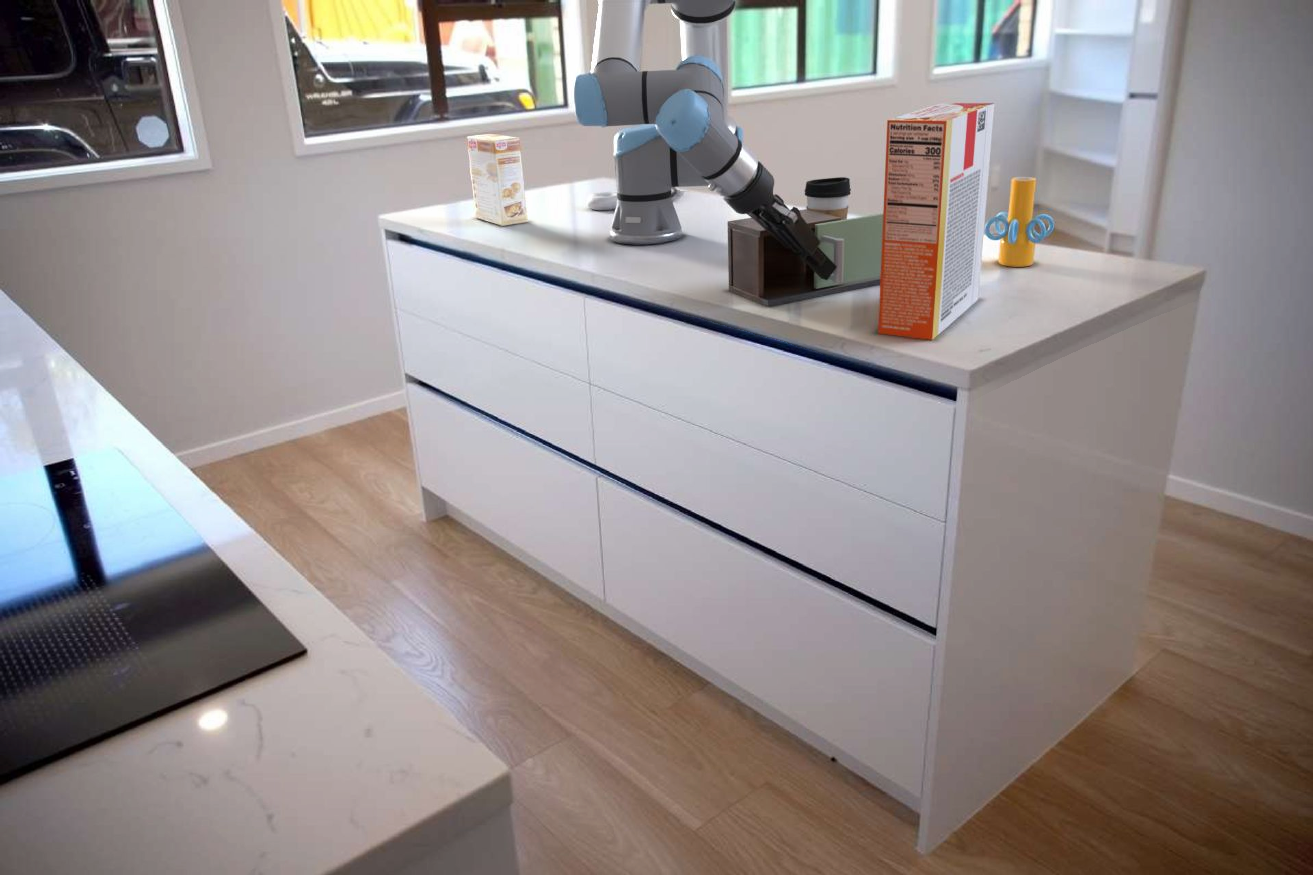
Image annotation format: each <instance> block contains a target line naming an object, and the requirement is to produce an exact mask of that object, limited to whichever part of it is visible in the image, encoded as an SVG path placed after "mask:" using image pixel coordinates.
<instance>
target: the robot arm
mask: <svg viewBox="0 0 1313 875" xmlns="http://www.w3.org/2000/svg"><path fill="white" fill-rule="evenodd" d="M596 1H597V4H598V10H597V12H598V13H597V20H596V27H595V28H596V29H595V36H594V43H593V53H592V61H591V70H590V72H587V73H582V74H578V75H576V76H575V78H574V79H573V87H572V94H573V95H572V96H573V98H572V100H573V107H574V114H575V118H576V121H577V123H578V124H579V125H580V126H583V127H601V128H607V127H621V126H623V127H624V126H630V127H627V128H624V129H621V130H619V131H618V132H617V133H616V134H615V135H614V138H613V157H614V169H615V189H616V192H617V206H616V209H614V214H613V219H612V222H611V227H610V229H609V230H610V240H611V241H612V242H614V243H617V244H622V245H634V246H635V245H638V246H641V245H642V246H644V245H645V246H646V245H658V244H663V243H664V244H665V243H669V242H673V241H676V240H679V239H680V238H681V237H682V234H683V233H682V225H681V222H680V219H679V216H678V214H677V210H676V208H675V205H674V203H673V199H672V198H674V197H675V196H676V195H677V193H678V190H677V188H682V187H684V188H685V187H687V188H688V187H707V189H708V190H709V191H710V192H716V193H717V194H718V196H721V197H722V199H723V201H724V202H725V203H726V204H727V205H728V206H729V207H730V208H731V209H732V210H733V211H734V212H735V213H736V214H739V215H747V216H749V218H753V219H754V220H755V221H756V222H757V223H758V224H759V225H761V226H762V227H763V228H764V229H765V230H766V231H767V232H768V233H770V234H771V235H772V236H773V237H774V238H775V239H776V240H777V241H779V242H780V243H781V244H782V245H783V246H784V247H785V248H789V247H790V248H791V249H792V251H793V252H796V253H797V252H799V254H798V255H799V257H800V258H801V259H803V260H804V261H805V262H806V263H807V264H808V265H809V266H810V267H811V268H812V269H813V270H814V271H815V272H816V273H817V274H818V276H819V277H820V278H821V279H824V280H828V278H829V277H830V276H831V274H832V273H833V272H834V270H835V269H836V267H837V266H836V265H835V264H834V263H833V262H832V261H831V260H830V259H829V258H828V257H827V256H826V255H825V254H824V253H823V252H822V250H821V249H820V248H819V247H818V246H819V244H820V243H821V242H820V240H819V239H818V238H817V236H816V235H815V234H814V232H813V231H812V230H811V228H810V227H809V226H808V224H807V223H806V222H805V220H804V219H803V218H802V216H801V213H800V211H799V210H800V209H799V208H798V207H796V206H792V208H791V209H790V208H789V207H788V206H787V205H786V204H785V201H784V200H783V199H782V197H780V195H778V194H776V193H774V189H775V188H774V187H775V178H774V176H773V174H772V173H771V172H770V170H768V169H767V168H766V167H765V165H764V164H762V162H760V161H759V160H758V157H756V155H755V154H754V153H753V152H752V151H751V150H750V149H749V148H748V146H746V144H744V131H743V128H742V127H741V126H738V125H737V123H736V120H735V119H734V117H733V116H732V115H731V114H729V58H728V57H729V54H728V52H729V50H728V48H729V47H728V44H729V43H728V42H729V41H728V18H729V17H730V16H731V15H732V14H733V12H734V11H735V8H736V2H738V1H739V0H596ZM656 4H657V5H658V4H659V5H661V4H662V5H663V4H664V5H665V4H670V10H671V13H672V15H673V16H674V17H675V18H676V19H677V20H679V26H680V27H679V30H680V45H681V46H680V47H681V61H679V63H678V64H677V65H676V67H675V69H665V70H663V69H662V70H642V69H641V68H642V56H643V42H644V27H645V13H646V12H645V11H646V10H647V9H648V7H649V6H650V5H656ZM672 191H673V192H672Z"/></svg>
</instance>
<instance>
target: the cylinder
mask: <svg viewBox="0 0 1313 875" xmlns="http://www.w3.org/2000/svg"><path fill="white" fill-rule="evenodd" d="M1036 184H1037V178H1036V177H1031V176H1016V177H1012V178H1011V182H1010V194H1009V204H1008V212H1007V211H1000V212H999V213H997V215H996V216H993V217H991V218H990V219H988V221H987V222H986V223H985V225H984V234H985V236H986V237H987V238H988V239H989V240H990V241H999V247H998V248H999V249H998V250H999V251H998V259H997V260H998V264H999V265H1002V266H1005V267H1012V268H1022V267H1023V268H1025V267H1029V266H1032V265H1033V264H1034V260H1035V252H1036V244H1039V243H1041V242H1043V241H1044V239H1045V238H1046V237H1048V236H1049V235H1051V233H1052V232H1053V230H1054V227H1055V222H1054V219H1053V217H1051V216H1050V215H1049V214H1046V213H1042V214H1038V215H1035V217H1033V212H1034V203H1035V194H1036V192H1035V191H1036ZM1043 219H1044V220H1046V221H1047V222H1048V228H1046V225H1045V223H1044V222H1043ZM1000 222H1001V223H1002V224H1003V230H1002V229H1001V228H1000ZM993 223H994V229H995V231H996V233H997V234H998V235H993V234H991V231H990V228H991V226H992V224H993ZM1036 224H1037V225H1038V226H1039V229H1040V233H1038V232H1037V231H1036V230H1035V226H1036Z"/></svg>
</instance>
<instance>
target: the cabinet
mask: <svg viewBox="0 0 1313 875" xmlns="http://www.w3.org/2000/svg"><path fill="white" fill-rule="evenodd" d="M798 210H799V211H800V213H801V216H802V218H803V219H804V220H805V222H806V223H807V224H808V226H809V227H810V228H811V230H812V231H813V232H814V234H815V224H821V223H827V222H833V221H839V220H841V218H840V217H836V216H832V215H828V214H823V213H819V212H815V211H811V210H807V209H806V208H805V209H798ZM798 254H799V252H797V253H796V252H793V251H792V249H791V248H790V247H789V248H785V247H784V246H783V245H782V244H781V243H780V242H779V241H777V240H776V239H775V238H774V237H773V236H772V235H771V234H770V233H768V232H767V231H766V230H765V229H764V228H763V227H762V226H761V225H759V224H758V223H757V222H756V221H755V220H754V219H753V218H751V217H746V218H739V219H733V220H728V221H727V266H728V268H727V269H728V272H727V273H728V292H730V293H733V294H735V295H738V296H740V297H743V298H745V299H748V300H750V301H752V302H755V303H758V304H760V305H763V306H765V307H767V308H768V307H769V308H770V307H774V306H778V305H783V304H789V303H794V302H799V301H803V300H808V299H809V300H810V299H814V298H818V297H824V296H829V295H833V294H839V293H843V292H848V291H853V290H858V289H864V288H868V287H873V286H874V287H875V286H880V280H881V276H879V277H874V278H869V279H864V280H859V281H854V282H849V283H844V284H839V285H834V286H828V287H823V288H818V289H816V288H814V270H813V269H812V268H811V267H810V266H809V265H808V264H807V263H806V262H805V261H804V260H803V259H801V258H800V257H799V255H798Z"/></svg>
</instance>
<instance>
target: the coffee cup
mask: <svg viewBox="0 0 1313 875" xmlns="http://www.w3.org/2000/svg"><path fill="white" fill-rule="evenodd" d="M851 191H852V189H851V179H850V178H849V177H846V176H839V177H828V178H818V179H817V178H816V179H811V180H807V181H806V183H805V189H804V196H805V197H806V207H805V209H807V210H811V211H815V212H819V213H823V214H828V215H832V216H836V217H840V218H841V220H845V219H848V213H849V212H848V211H849V205H848V203H849V202H848V201H849V196H850V195H851Z"/></svg>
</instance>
